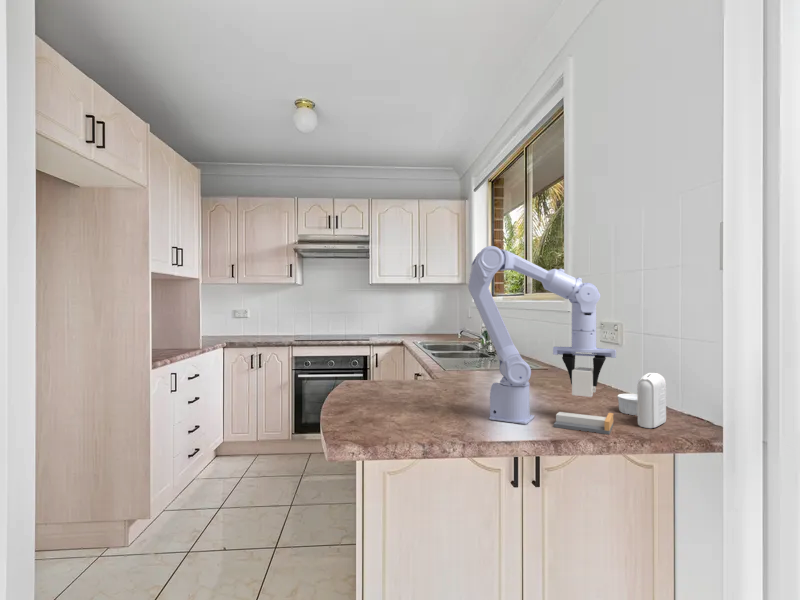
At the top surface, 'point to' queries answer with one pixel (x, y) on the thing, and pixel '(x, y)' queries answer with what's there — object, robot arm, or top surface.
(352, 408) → the top surface
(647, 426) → the photo printer
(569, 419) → the rail mount
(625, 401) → the ramekin
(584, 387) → the block
